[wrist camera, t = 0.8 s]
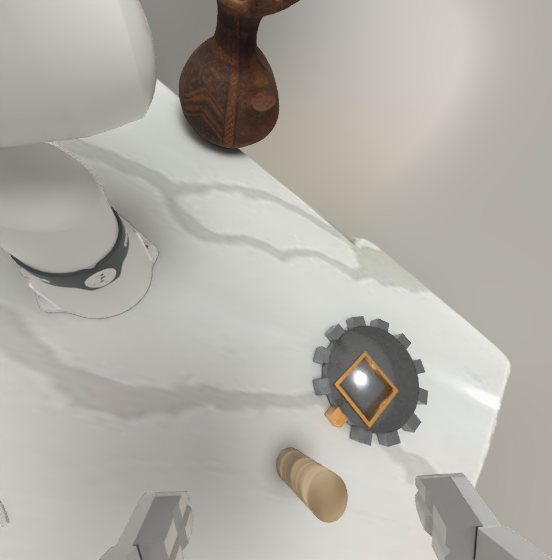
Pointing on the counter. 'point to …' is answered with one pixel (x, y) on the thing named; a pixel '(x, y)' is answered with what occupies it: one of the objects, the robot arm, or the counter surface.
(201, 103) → the jug
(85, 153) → the counter surface
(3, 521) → the pliers
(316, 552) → the counter surface
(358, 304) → the counter surface
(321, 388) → the sprocket
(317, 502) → the drive pin
